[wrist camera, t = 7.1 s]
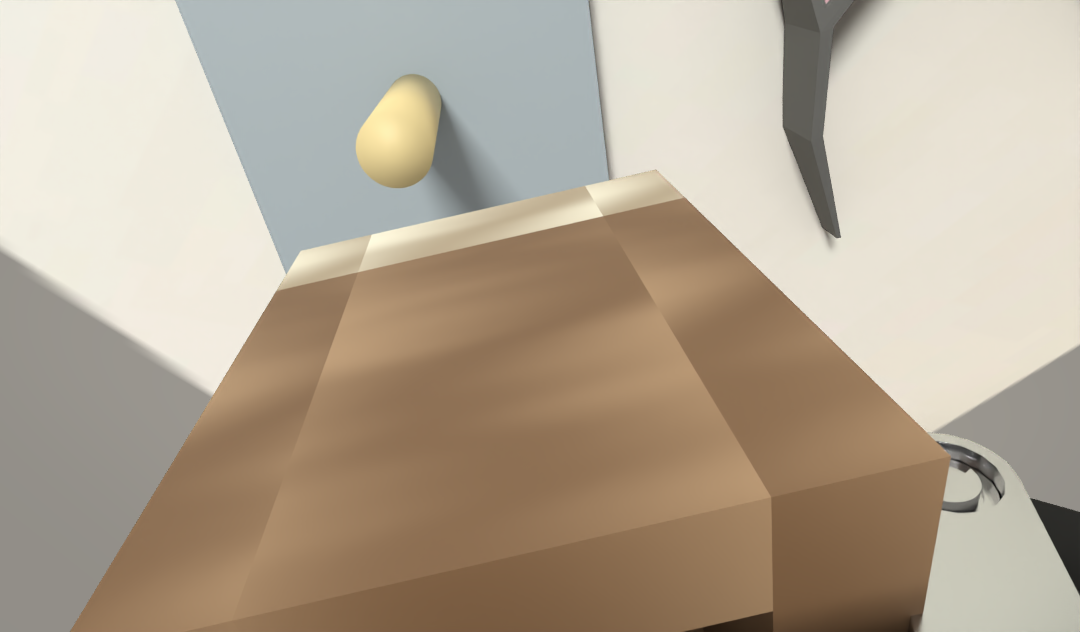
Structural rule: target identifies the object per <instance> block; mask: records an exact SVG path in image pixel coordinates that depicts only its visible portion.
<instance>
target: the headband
mask: <svg viewBox="0 0 1080 632" xmlns="http://www.w3.org/2000/svg"><path fill="white" fill-rule="evenodd" d="M853 1H854V0H782V4H783V12H784V19H785V39H784V70H783V128H784V130H785V133H786V135H787V138H788V141H789V143H790V146H791V148H792V151H793V153H794V156H795V159H796V161H797V164H798V166H799V169H800V171H801V174H802V177H803V179H804V182H805V184H806V187H807V189H808V192H809V195H810V197H811V200H812V202H813V205H814V207H815V210H816V213H817V215H818V218H819V220H820V223H821V225H822V227H823V228H824V229H825V230H827V231H828V232H829V233H831V234H832V235H833V236H835V237H836V238H841V235H840V230H839V224H838V219H837V213H836V207H835V202H834V196H833V191H832V185H831V179H830V174H829V168H828V163H827V157H826V151H825V146H824V140H823V130H824V120H825V110H826V100H827V89H828V79H829V69H830V59H831V49H832V38H833V28H834V26H835V25H836V24H837V22H838V21H839V20H840V18H841V17H842V16H843V14H844V13H845V12H846V10H847V9H848V8H849V7H850V5H851V4H852V3H853Z"/></svg>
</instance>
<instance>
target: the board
mask: <svg viewBox="0 0 1080 632" xmlns="http://www.w3.org/2000/svg"><path fill="white" fill-rule="evenodd" d="M175 1H176V3H177V6H178V8H179V11H180V13H181V16H182V18H183V21H184V23H185V26H186V28H187V30H188V33H189V35H190V38H191V40H192V43H193V45H194V48H195V50H196V53H197V55H198V58H199V60H200V63H201V65H202V67H203V70H204V72H205V75H206V77H207V80H208V82H209V85H210V87H211V90H212V92H213V95H214V97H215V100H216V102H217V104H218V107H219V109H220V112H221V114H222V117H223V119H224V122H225V124H226V127H227V129H228V132H229V134H230V137H231V139H232V141H233V144H234V146H235V149H236V151H237V154H238V156H239V159H240V161H241V164H242V166H243V169H244V171H245V173H246V176H247V178H248V181H249V183H250V186H251V188H252V191H253V193H254V196H255V198H256V201H257V203H258V206H259V208H260V210H261V213H262V215H263V218H264V220H265V223H266V225H267V228H268V230H269V233H270V235H271V238H272V240H273V243H274V245H275V247H276V250H277V252H278V255H279V257H280V260H281V262H282V265H283V267H284V270H285V272H286V274H287V273H288V271H289V269H290V268H291V266H292V264H293V263H294V261H295V259H296V258H297V256H298V255H299V253H300V251H302V250H307V249H311V248H315V247H320V246H324V245H329V244H333V243H337V242H342V241H346V240H350V239H355V238H359V237H364V236H368V235H372V234H377V233H381V232H385V231H390V230H394V229H399V228H403V227H407V226H412V225H416V224H420V223H425V222H429V221H434V220H438V219H442V218H447V217H451V216H455V215H460V214H464V213H469V212H473V211H477V210H482V209H486V208H490V207H495V206H499V205H504V204H508V203H512V202H517V201H521V200H525V199H530V198H534V197H539V196H543V195H547V194H552V193H556V192H561V191H565V190H569V189H574V188H578V187H582V186H587V185H591V184H596V183H600V182H604V181H609V176H608V167H607V159H606V150H605V141H604V133H603V124H602V115H601V106H600V98H599V89H598V80H597V72H596V63H595V54H594V46H593V37H592V28H591V19H590V11H589V2H588V0H175Z"/></svg>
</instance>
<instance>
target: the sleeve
mask: <svg viewBox="0 0 1080 632" xmlns="http://www.w3.org/2000/svg"><path fill="white" fill-rule="evenodd" d="M950 459H951V456H950V455H949V454H948V453H947V452H946V451H945V450H944V449H943V448H942V447H941V446H940V445H939V444H938V443H937V442H936V441H935V440H934V439H933V438H932V437H931V436H930V435H929V434H928V433H927V432H926V431H925V430H924V429H923V428H922V427H920V426H919V425H918V424H917V423H916V422H915V421H914V420H913V419H912V418H911V417H910V416H909V415H908V414H907V413H906V412H905V411H904V410H903V409H902V408H901V407H900V406H899V405H898V404H897V403H896V402H895V401H894V400H893V399H892V398H891V397H890V396H889V395H888V394H887V393H885V392H884V391H883V390H882V389H881V388H880V387H879V386H878V385H877V384H876V383H875V382H874V381H873V380H872V379H871V378H870V377H869V376H868V375H867V374H866V373H865V372H864V371H863V370H862V369H861V368H860V367H859V366H858V365H857V364H856V363H855V362H854V361H853V360H852V359H850V358H849V357H848V356H847V355H846V354H845V353H844V352H843V351H842V350H841V349H840V348H839V347H838V346H837V345H836V344H835V343H834V342H833V341H832V340H831V339H830V338H829V337H828V336H827V335H826V334H825V333H824V332H823V331H822V330H821V329H820V328H819V327H818V326H817V325H816V324H814V323H813V322H812V321H811V320H810V319H809V318H808V317H807V316H806V315H805V314H804V313H803V312H802V311H801V310H800V309H799V308H798V307H797V306H796V305H795V304H794V303H793V302H792V301H791V300H790V299H789V298H788V297H787V296H786V295H785V294H784V293H783V292H782V291H781V290H779V289H778V288H777V287H776V286H775V285H774V284H773V283H772V282H771V281H770V280H769V279H768V278H767V277H766V276H765V275H764V274H763V273H762V272H761V271H760V270H759V269H758V268H757V267H756V266H755V265H754V264H753V263H752V262H751V261H750V260H749V259H748V258H747V257H746V256H744V255H743V254H742V253H741V252H740V251H739V250H738V249H737V248H736V247H735V246H734V245H733V244H732V243H731V242H730V241H729V240H728V239H727V238H726V237H725V236H724V235H723V234H722V233H721V232H720V231H719V230H718V229H717V228H716V227H715V226H714V225H713V224H712V223H711V222H709V221H708V220H707V219H706V218H705V217H704V216H703V215H702V214H701V213H700V212H699V211H698V210H697V209H696V208H695V207H694V206H693V205H692V204H691V203H690V202H689V201H688V200H687V199H686V198H685V197H684V196H683V195H682V194H681V193H680V192H679V191H678V190H677V189H676V188H674V187H673V186H672V185H671V184H670V183H669V182H668V181H667V180H666V179H665V178H664V177H663V176H662V175H661V174H660V173H659V172H658V171H657V170H652V171H648V172H644V173H639V174H635V175H631V176H626V177H622V178H617V179H613V180H609V181H604V182H600V183H596V184H591V185H587V186H582V187H578V188H574V189H569V190H565V191H561V192H556V193H552V194H547V195H543V196H539V197H534V198H530V199H525V200H521V201H517V202H512V203H508V204H504V205H499V206H495V207H490V208H486V209H482V210H477V211H473V212H469V213H464V214H460V215H455V216H451V217H447V218H442V219H438V220H434V221H429V222H425V223H420V224H416V225H412V226H407V227H403V228H399V229H394V230H390V231H385V232H381V233H377V234H372V235H368V236H364V237H359V238H355V239H350V240H346V241H342V242H337V243H333V244H329V245H324V246H320V247H315V248H311V249H307V250H302V251H300V253H299V255H298V256H297V258H296V259H295V261H294V263H293V264H292V266H291V268H290V269H289V271H288V273H287V274H286V276H285V278H284V279H283V281H282V283H281V284H280V286H279V288H278V289H277V291H276V293H275V294H274V296H273V297H272V299H271V301H270V302H269V304H268V306H267V307H266V309H265V311H264V312H263V314H262V316H261V317H260V319H259V321H258V322H257V324H256V326H255V327H254V329H253V330H252V332H251V334H250V335H249V337H248V339H247V340H246V342H245V344H244V345H243V347H242V349H241V350H240V352H239V354H238V355H237V357H236V359H235V360H234V362H233V364H232V365H231V367H230V368H229V370H228V372H227V373H226V375H225V377H224V378H223V380H222V382H221V383H220V385H219V387H218V388H217V390H216V392H215V393H214V395H213V397H212V398H211V400H210V402H209V403H208V405H207V406H206V408H205V410H204V411H203V413H202V415H201V416H200V418H199V420H198V421H197V423H196V425H195V426H194V428H193V430H192V431H191V433H190V435H189V436H188V438H187V439H186V441H185V443H184V444H183V446H182V448H181V450H180V451H179V453H178V454H177V456H176V458H175V459H174V461H173V463H172V464H171V466H170V468H169V469H168V471H167V473H166V474H165V476H164V477H163V479H162V481H161V483H160V484H159V486H158V487H157V489H156V491H155V492H154V494H153V496H152V497H151V499H150V501H149V502H148V504H147V506H146V507H145V509H144V511H143V512H142V514H141V516H140V517H139V519H138V521H137V522H136V524H135V526H134V527H133V529H132V530H131V532H130V534H129V535H128V537H127V539H126V540H125V542H124V544H123V545H122V547H121V549H120V550H119V552H118V553H117V555H116V557H115V558H114V560H113V562H112V563H111V565H110V567H109V568H108V570H107V572H106V573H105V575H104V577H103V578H102V580H101V582H100V583H99V585H98V586H97V588H96V590H95V592H94V594H93V595H92V597H91V598H90V600H89V602H88V603H87V605H86V607H85V608H84V610H83V611H82V613H81V615H80V616H79V618H78V619H77V621H76V623H75V625H74V626H73V628H72V629H71V631H70V632H908V627H909V621H910V616H913V615H917V614H922V613H923V611H924V605H925V600H926V594H927V589H928V583H929V577H930V572H931V566H932V560H933V555H934V549H935V543H936V538H937V532H938V526H939V521H940V515H941V510H942V504H943V498H944V493H945V487H946V481H947V476H948V470H949V464H950Z"/></svg>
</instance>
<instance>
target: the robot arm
mask: <svg viewBox="0 0 1080 632" xmlns="http://www.w3.org/2000/svg"><path fill="white" fill-rule="evenodd" d="M927 433H928V434H929V435H930V436H931V437H932V438H933V439H934V440H935V441H936V442H937V443H938V444H939V445H940V446H941V447H942V448H943V449H944V450H945V451H946V452H947V453H948V454H949V455H950V456H951V459H950V464H949V470H948V476H947V481H946V487H945V493H944V498H943V504H942V510H941V515H940V521H939V526H938V532H937V538H936V543H935V549H934V555H933V560H932V566H931V572H930V577H929V583H928V589H927V594H926V600H925V605H924V611H923V613H922V614H917V615H913V616H910V621H909V627H908V632H1080V512H1077V511H1074V510H1070V509H1067V508H1064V507H1060V506H1057V505H1053V504H1049V503H1046V502H1042V501H1039V500H1035V499H1031V498H1029V496H1028V494H1027V492H1026V490H1025V488H1024V486H1023V484H1022V482H1021V480H1020V478H1019V477H1018V475H1017V474H1016V473H1015V471H1014V470H1013V469H1012V468H1011V466H1010V465H1009V463H1007V462H1006V461H1005V460H1003V459H1002V458H1001V457H999V456H998V455H997V454H996V453H994V452H993V451H991V450H989V449H987V448H985V447H983V446H981V445H979V444H977V443H975V442H973V441H970V440H966V439H963V438H959V437H956V436H952V435H947V434H939V433H930V432H927Z"/></svg>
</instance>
